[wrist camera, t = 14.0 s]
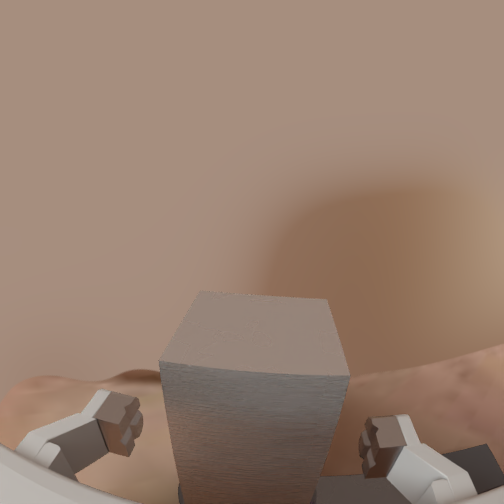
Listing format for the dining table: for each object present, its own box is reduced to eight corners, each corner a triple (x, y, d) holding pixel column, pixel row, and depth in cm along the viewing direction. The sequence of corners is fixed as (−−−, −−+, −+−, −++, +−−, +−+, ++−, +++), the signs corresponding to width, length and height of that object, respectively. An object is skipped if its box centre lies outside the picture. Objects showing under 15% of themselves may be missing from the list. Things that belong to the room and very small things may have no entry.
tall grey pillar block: (296, 458, 15) (326, 299, 12) (297, 531, 10) (350, 375, 8) (207, 451, 15) (200, 290, 13) (189, 522, 11) (158, 360, 8)
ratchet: (169, 546, 10) (144, 488, 9) (196, 456, 17) (188, 380, 15) (499, 515, 9) (559, 445, 7) (467, 446, 16) (505, 376, 14)
